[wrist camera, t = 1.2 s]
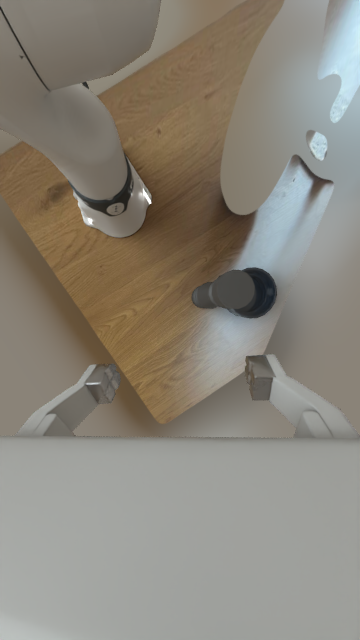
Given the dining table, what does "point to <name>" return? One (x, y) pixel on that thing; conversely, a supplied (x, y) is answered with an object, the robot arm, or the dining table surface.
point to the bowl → (258, 295)
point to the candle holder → (225, 291)
